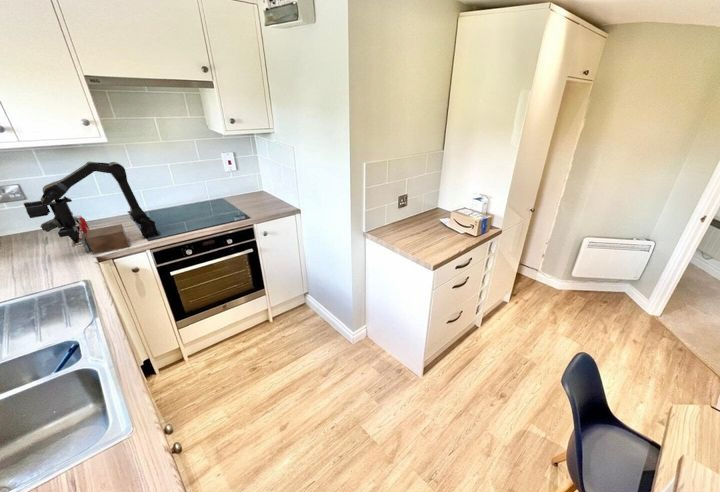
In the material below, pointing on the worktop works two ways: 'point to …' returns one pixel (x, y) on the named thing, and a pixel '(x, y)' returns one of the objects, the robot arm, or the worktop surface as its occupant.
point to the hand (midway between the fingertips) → (77, 243)
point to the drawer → (84, 242)
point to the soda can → (82, 226)
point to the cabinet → (107, 239)
